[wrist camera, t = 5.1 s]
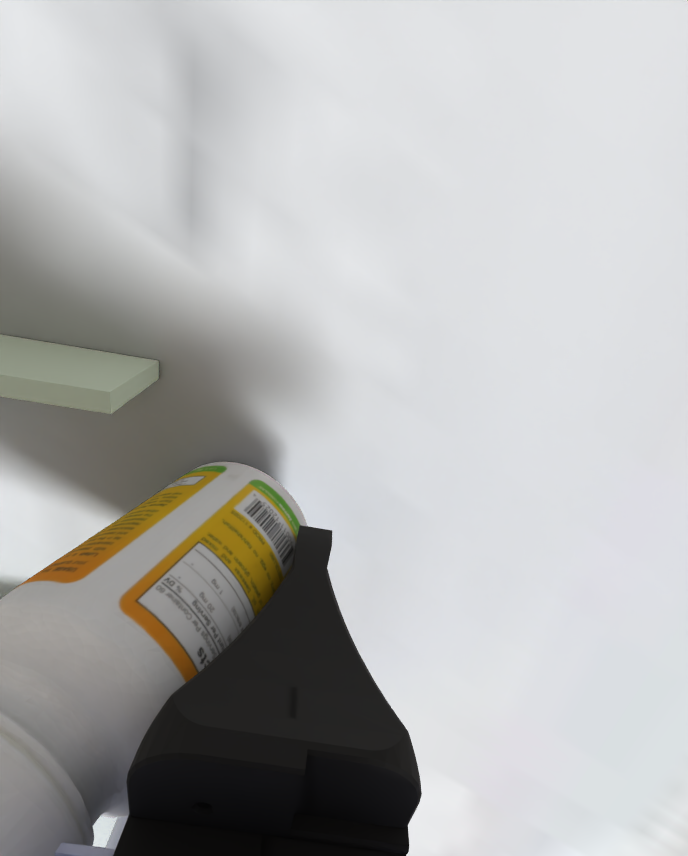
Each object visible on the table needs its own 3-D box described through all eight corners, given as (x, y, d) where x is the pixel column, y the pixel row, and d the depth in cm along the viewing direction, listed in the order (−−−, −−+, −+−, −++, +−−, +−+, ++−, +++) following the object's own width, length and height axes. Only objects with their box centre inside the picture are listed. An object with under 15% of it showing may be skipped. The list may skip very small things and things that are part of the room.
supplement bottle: (172, 557, 17) (-173, 868, 8) (184, 434, 15) (-270, 677, 6) (298, 615, 16) (60, 1044, 7) (331, 492, 14) (45, 890, 5)
